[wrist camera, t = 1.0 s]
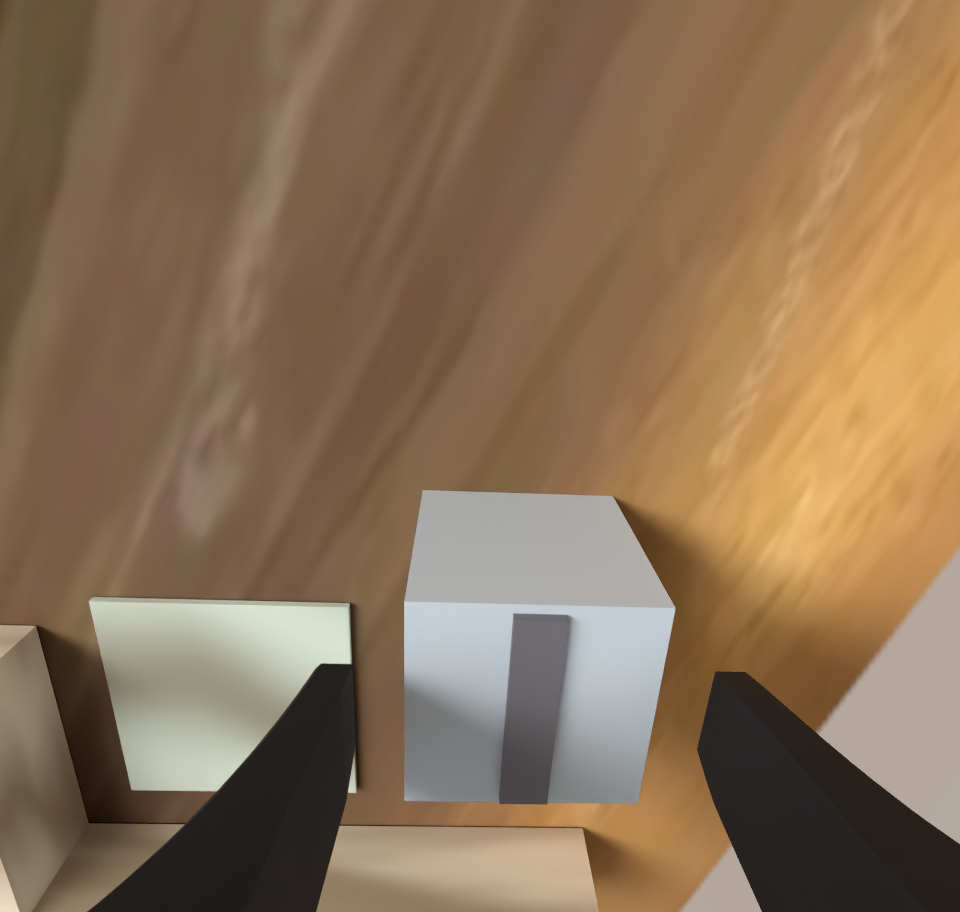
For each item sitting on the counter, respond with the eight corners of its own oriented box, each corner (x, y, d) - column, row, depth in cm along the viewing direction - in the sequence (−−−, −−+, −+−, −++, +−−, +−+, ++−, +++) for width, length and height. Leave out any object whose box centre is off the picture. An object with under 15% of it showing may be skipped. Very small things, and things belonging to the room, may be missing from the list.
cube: (591, 649, 17) (639, 812, 12) (421, 645, 17) (403, 809, 12) (612, 495, 15) (679, 615, 11) (423, 488, 15) (403, 608, 10)
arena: (577, 858, 20) (596, 959, 17) (51, 854, 20) (-18, 958, 17) (615, 609, 17) (645, 685, 14) (-29, 594, 16) (-135, 670, 13)
